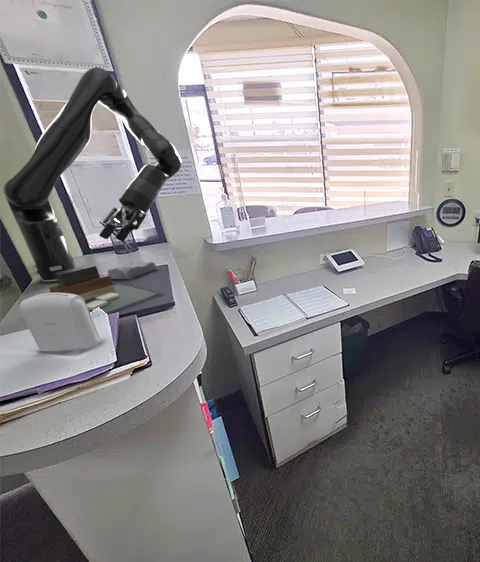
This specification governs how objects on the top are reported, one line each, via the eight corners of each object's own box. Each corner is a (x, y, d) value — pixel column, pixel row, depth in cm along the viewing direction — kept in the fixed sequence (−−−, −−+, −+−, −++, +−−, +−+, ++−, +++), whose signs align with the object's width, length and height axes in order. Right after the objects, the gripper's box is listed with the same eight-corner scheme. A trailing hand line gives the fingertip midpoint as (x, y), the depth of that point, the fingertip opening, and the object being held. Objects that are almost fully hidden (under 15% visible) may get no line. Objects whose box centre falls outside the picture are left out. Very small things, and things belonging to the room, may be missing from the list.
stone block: (107, 284, 105) (129, 280, 102) (101, 271, 104) (123, 266, 101) (139, 274, 116) (160, 270, 113) (134, 261, 115) (154, 257, 112)
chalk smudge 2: (96, 299, 87) (95, 297, 87) (112, 294, 91) (111, 292, 90) (103, 302, 86) (102, 299, 85) (120, 296, 89) (119, 294, 89)
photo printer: (36, 354, 63) (9, 299, 59) (54, 343, 67) (30, 291, 63) (90, 351, 64) (67, 296, 60) (104, 340, 68) (84, 288, 64)
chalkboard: (36, 311, 82) (35, 309, 82) (120, 285, 99) (119, 283, 99) (74, 326, 74) (73, 324, 74) (158, 295, 91) (158, 293, 91)
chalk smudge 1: (81, 309, 82) (80, 306, 81) (96, 302, 85) (95, 300, 85) (93, 310, 81) (92, 307, 81) (108, 303, 85) (107, 301, 84)
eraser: (55, 303, 85) (43, 274, 82) (106, 288, 95) (96, 262, 92) (64, 306, 83) (52, 277, 80) (115, 290, 93) (105, 264, 90)
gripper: (164, 203, 98) (137, 247, 93) (138, 202, 104) (110, 243, 99) (142, 187, 92) (111, 233, 87) (115, 187, 98) (84, 230, 92)
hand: (110, 238), depth 93 cm, fingers open, 8 cm apart
